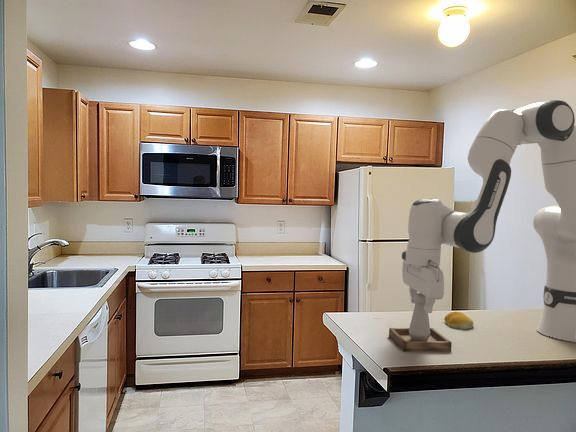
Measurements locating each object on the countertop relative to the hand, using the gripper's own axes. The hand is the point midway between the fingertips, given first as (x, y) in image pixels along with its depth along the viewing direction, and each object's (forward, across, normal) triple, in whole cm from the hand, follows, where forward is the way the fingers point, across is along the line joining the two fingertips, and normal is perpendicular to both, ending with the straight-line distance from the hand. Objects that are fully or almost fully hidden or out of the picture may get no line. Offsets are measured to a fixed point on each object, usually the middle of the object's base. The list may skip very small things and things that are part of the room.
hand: (420, 307), depth 125 cm
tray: (+10, 0, 0) cm, 10 cm away
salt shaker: (+10, 0, 0) cm, 10 cm away
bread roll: (+10, +17, -20) cm, 28 cm away
